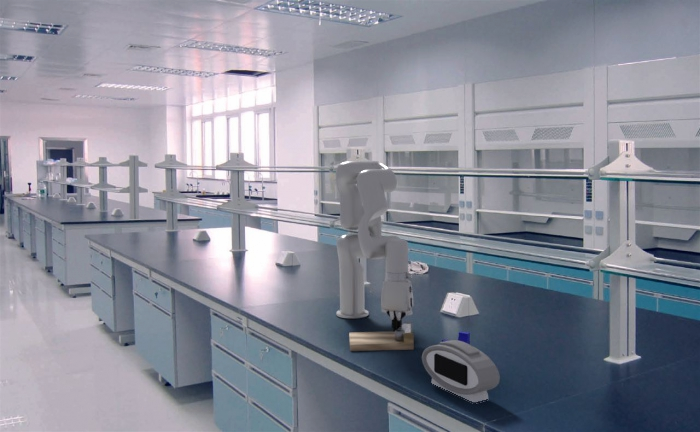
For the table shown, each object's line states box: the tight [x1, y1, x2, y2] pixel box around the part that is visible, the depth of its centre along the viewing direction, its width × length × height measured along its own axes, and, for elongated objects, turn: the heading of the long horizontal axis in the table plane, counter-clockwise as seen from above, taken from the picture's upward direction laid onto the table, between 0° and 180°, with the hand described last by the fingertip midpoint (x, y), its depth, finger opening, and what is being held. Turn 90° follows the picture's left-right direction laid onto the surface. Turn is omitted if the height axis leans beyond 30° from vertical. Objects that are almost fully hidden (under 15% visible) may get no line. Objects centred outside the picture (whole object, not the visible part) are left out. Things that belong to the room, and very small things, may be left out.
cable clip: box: [441, 331, 471, 345], centre depth 187 cm, size 12×4×6 cm, turn 141°
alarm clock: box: [421, 339, 501, 402], centre depth 157 cm, size 23×6×13 cm, turn 31°
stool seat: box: [348, 331, 415, 352], centre depth 201 cm, size 14×20×5 cm
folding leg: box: [395, 321, 413, 341], centre depth 201 cm, size 13×3×3 cm, turn 160°
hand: (396, 330), depth 205 cm, fingers closed
